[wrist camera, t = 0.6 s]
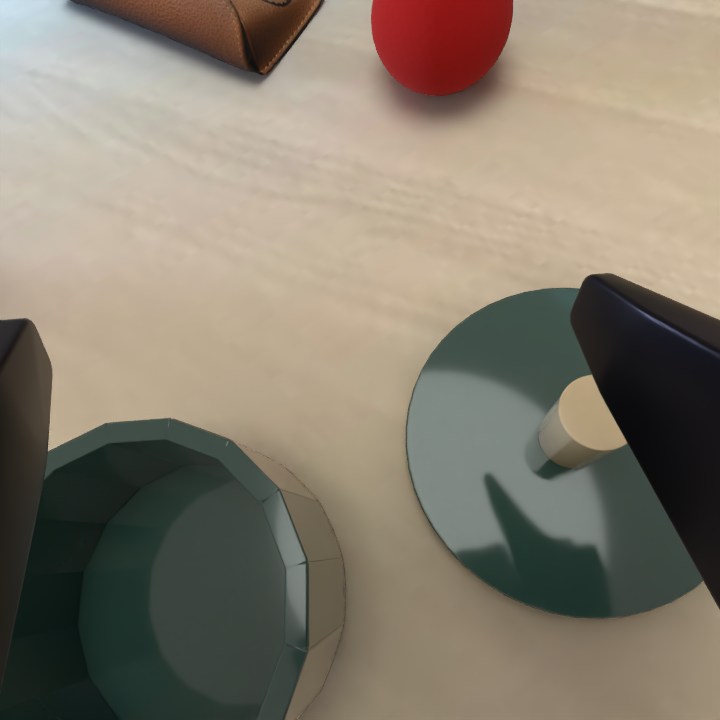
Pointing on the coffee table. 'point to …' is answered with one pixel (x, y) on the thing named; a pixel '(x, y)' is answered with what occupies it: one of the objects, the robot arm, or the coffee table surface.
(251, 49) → the sunglasses case
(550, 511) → the lid
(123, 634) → the canister
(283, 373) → the coffee table surface
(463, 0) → the christmas ornament
